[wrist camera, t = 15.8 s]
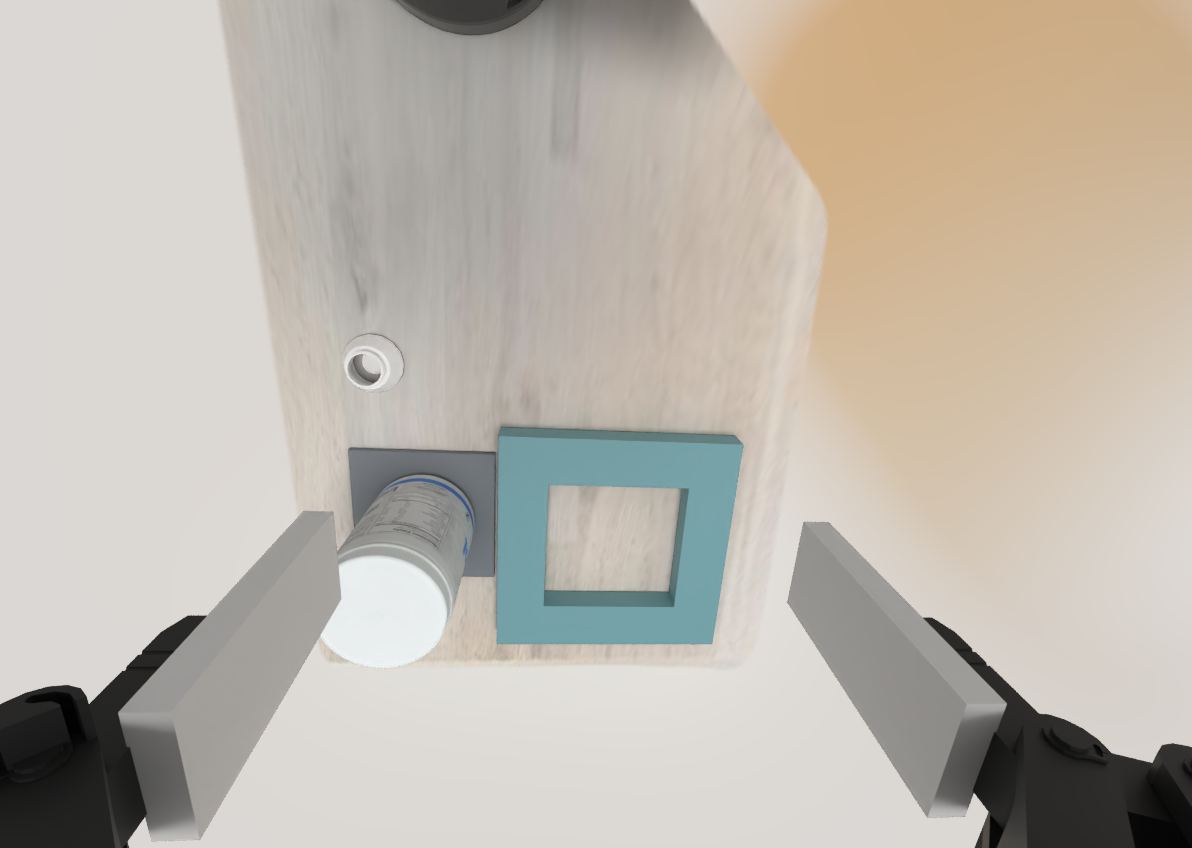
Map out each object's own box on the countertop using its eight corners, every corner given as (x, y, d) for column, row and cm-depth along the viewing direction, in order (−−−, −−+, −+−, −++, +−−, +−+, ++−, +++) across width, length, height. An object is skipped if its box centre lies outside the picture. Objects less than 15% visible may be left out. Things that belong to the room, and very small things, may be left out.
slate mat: (350, 447, 50) (348, 450, 49) (495, 452, 51) (494, 454, 51) (360, 571, 54) (358, 575, 53) (494, 573, 55) (493, 576, 55)
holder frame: (501, 427, 50) (498, 436, 48) (734, 435, 52) (743, 444, 50) (498, 627, 57) (496, 644, 55) (705, 628, 59) (712, 644, 57)
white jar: (416, 368, 48) (377, 322, 47) (408, 376, 46) (366, 327, 44) (373, 401, 49) (332, 356, 47) (362, 410, 46) (319, 363, 45)
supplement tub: (465, 569, 54) (435, 683, 40) (366, 551, 53) (299, 662, 39) (485, 481, 51) (461, 570, 37) (381, 459, 50) (315, 543, 36)
